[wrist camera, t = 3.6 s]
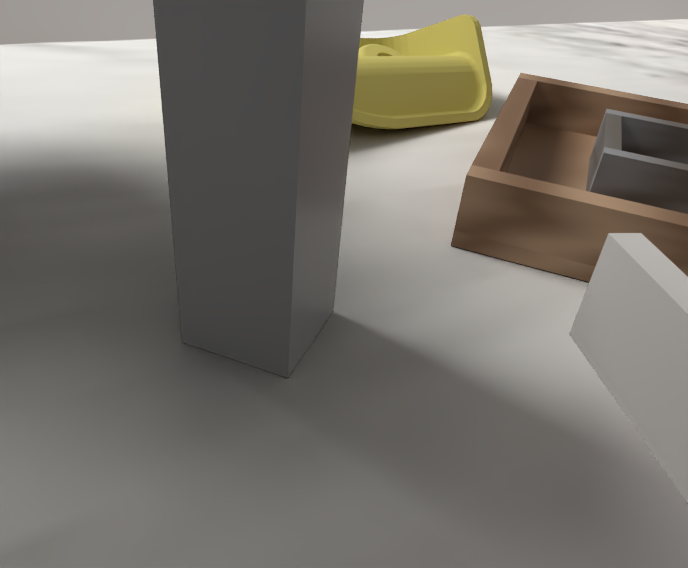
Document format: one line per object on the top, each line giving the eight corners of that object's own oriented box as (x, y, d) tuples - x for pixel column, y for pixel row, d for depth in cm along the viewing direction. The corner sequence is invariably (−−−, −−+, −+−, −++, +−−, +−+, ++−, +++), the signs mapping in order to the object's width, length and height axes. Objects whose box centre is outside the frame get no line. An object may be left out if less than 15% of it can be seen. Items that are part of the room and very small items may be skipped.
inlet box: (450, 245, 28) (467, 168, 26) (507, 124, 42) (521, 68, 40) (908, 366, 23) (975, 285, 21) (799, 185, 38) (833, 125, 35)
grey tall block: (181, 342, 21) (144, -107, 13) (239, 282, 24) (234, -109, 17) (287, 378, 20) (310, -84, 12) (333, 311, 23) (372, -91, 16)
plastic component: (393, 40, 50) (490, 7, 42) (403, 133, 51) (498, 118, 43) (157, 37, 38) (229, -9, 30) (178, 157, 40) (251, 142, 32)
